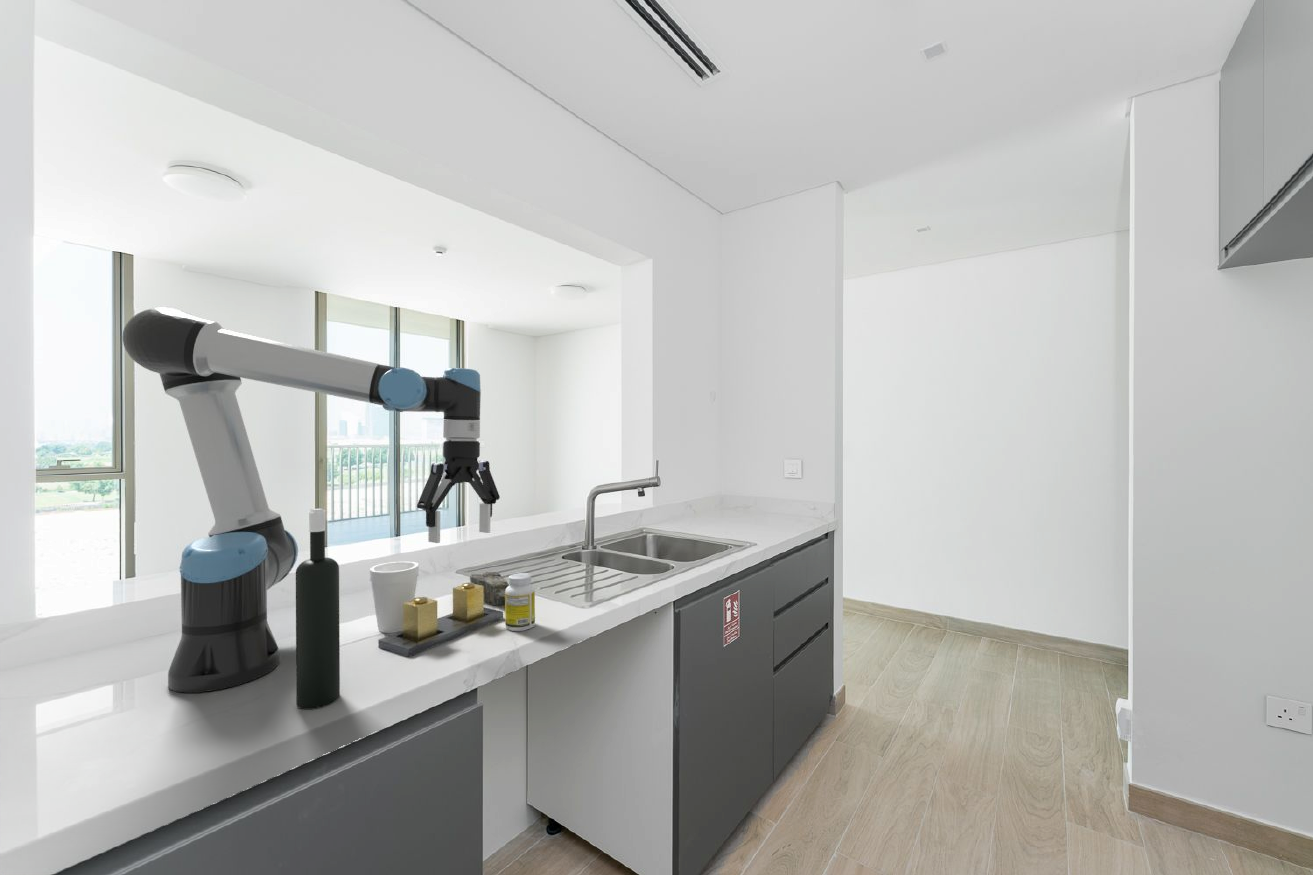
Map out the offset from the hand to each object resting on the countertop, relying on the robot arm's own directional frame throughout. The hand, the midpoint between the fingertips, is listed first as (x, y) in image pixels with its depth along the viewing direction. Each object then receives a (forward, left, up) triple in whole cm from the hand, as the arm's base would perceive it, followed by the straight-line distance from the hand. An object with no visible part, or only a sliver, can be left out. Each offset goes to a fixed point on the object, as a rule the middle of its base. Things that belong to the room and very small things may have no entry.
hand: (460, 537), depth 119 cm
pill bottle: (+5, -13, -19) cm, 23 cm away
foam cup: (-9, +10, -19) cm, 23 cm away
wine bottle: (-35, -8, -19) cm, 40 cm away
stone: (+15, +6, -19) cm, 26 cm away
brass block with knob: (-11, -1, -19) cm, 22 cm away
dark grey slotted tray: (-5, -1, -19) cm, 20 cm away
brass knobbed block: (+1, -1, -19) cm, 19 cm away
